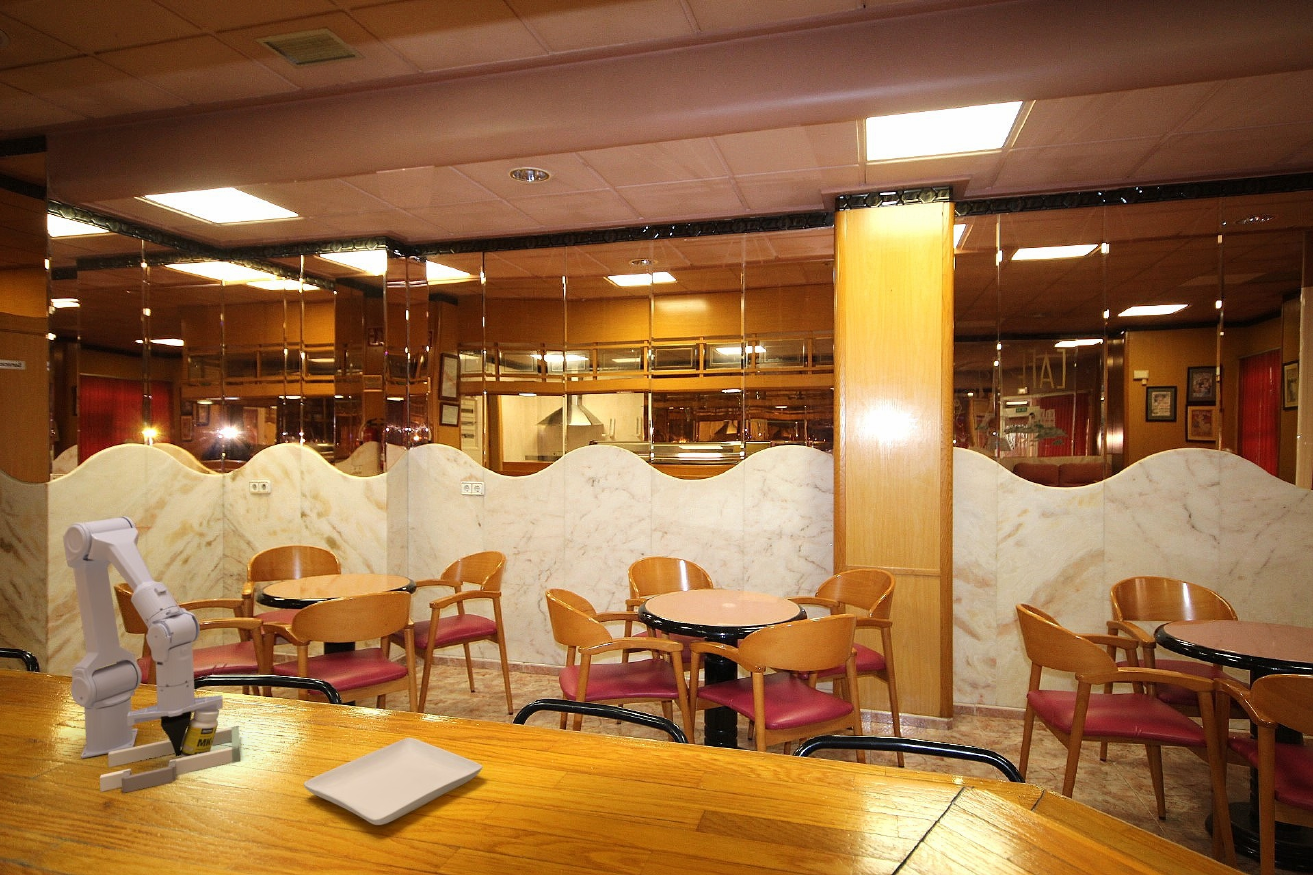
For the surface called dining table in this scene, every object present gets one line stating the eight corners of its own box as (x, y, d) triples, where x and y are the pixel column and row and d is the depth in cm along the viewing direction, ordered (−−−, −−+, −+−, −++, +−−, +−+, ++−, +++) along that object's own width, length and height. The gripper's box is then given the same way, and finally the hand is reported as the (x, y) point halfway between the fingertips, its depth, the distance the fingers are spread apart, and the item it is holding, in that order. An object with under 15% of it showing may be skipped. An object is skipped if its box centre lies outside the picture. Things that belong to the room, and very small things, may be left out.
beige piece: (111, 758, 136) (111, 746, 136) (238, 732, 147) (238, 720, 147) (98, 798, 122) (97, 784, 122) (240, 766, 132) (239, 753, 132)
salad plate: (409, 751, 138) (408, 733, 138) (486, 782, 126) (486, 763, 126) (300, 801, 121) (299, 781, 121) (377, 843, 108) (376, 820, 108)
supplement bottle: (193, 762, 133) (206, 716, 134) (173, 754, 134) (186, 708, 135) (215, 755, 137) (227, 710, 138) (195, 747, 139) (207, 703, 139)
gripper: (123, 696, 127) (127, 773, 127) (221, 680, 134) (223, 752, 135) (128, 683, 133) (131, 757, 133) (221, 668, 140) (224, 738, 141)
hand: (178, 754), depth 134 cm, fingers closed, pressing on supplement bottle
